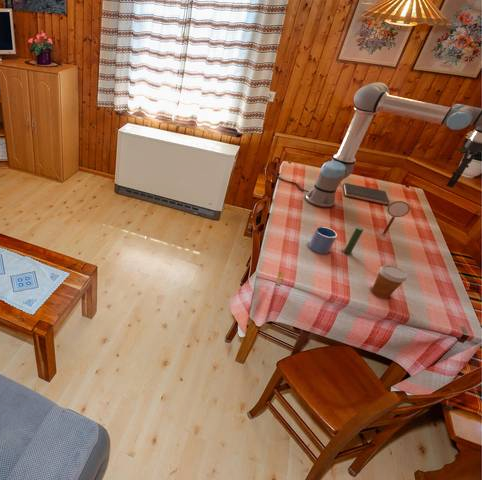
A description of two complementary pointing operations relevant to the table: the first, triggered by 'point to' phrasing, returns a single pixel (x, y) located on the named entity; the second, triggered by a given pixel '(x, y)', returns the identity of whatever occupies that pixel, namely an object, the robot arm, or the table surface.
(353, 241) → the stick
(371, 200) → the hardcover book
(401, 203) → the magnifying glass
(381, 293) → the disposable coffee cup
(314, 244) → the tumbler
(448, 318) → the table surface
